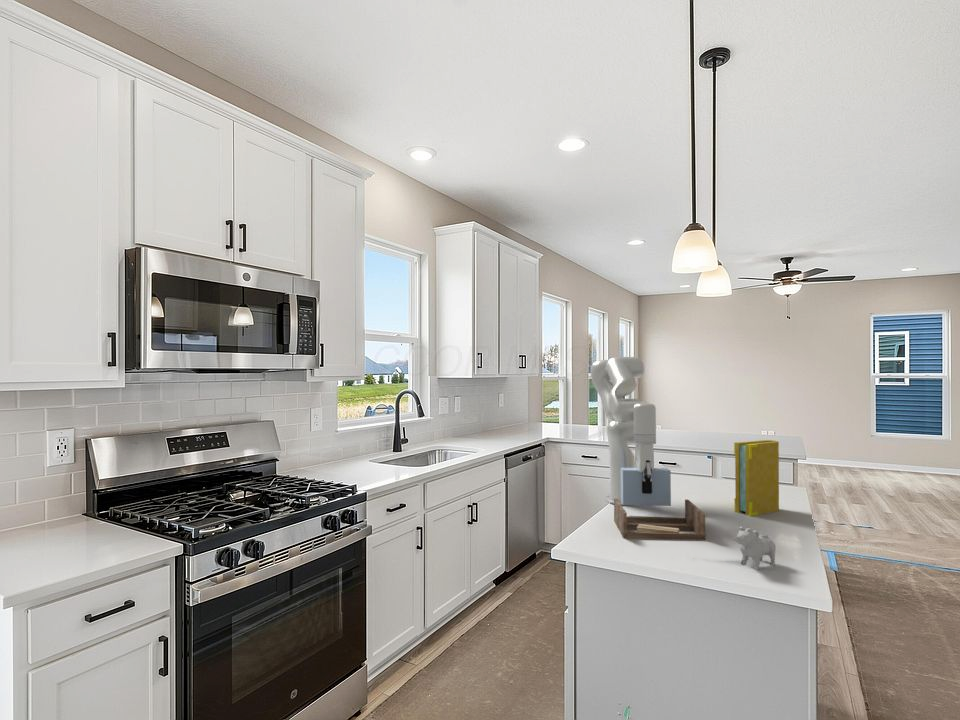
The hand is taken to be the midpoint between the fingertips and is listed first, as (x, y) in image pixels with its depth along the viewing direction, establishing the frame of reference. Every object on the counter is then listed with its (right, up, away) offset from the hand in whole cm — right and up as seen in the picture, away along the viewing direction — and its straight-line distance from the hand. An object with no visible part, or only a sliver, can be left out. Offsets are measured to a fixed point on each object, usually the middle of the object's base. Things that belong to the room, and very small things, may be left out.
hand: (645, 490), depth 196 cm
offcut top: (-3, -8, -22) cm, 24 cm away
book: (+44, -10, +9) cm, 46 cm away
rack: (-2, -10, -19) cm, 21 cm away
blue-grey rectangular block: (0, -5, 0) cm, 5 cm away
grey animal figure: (+16, -10, -45) cm, 49 cm away
